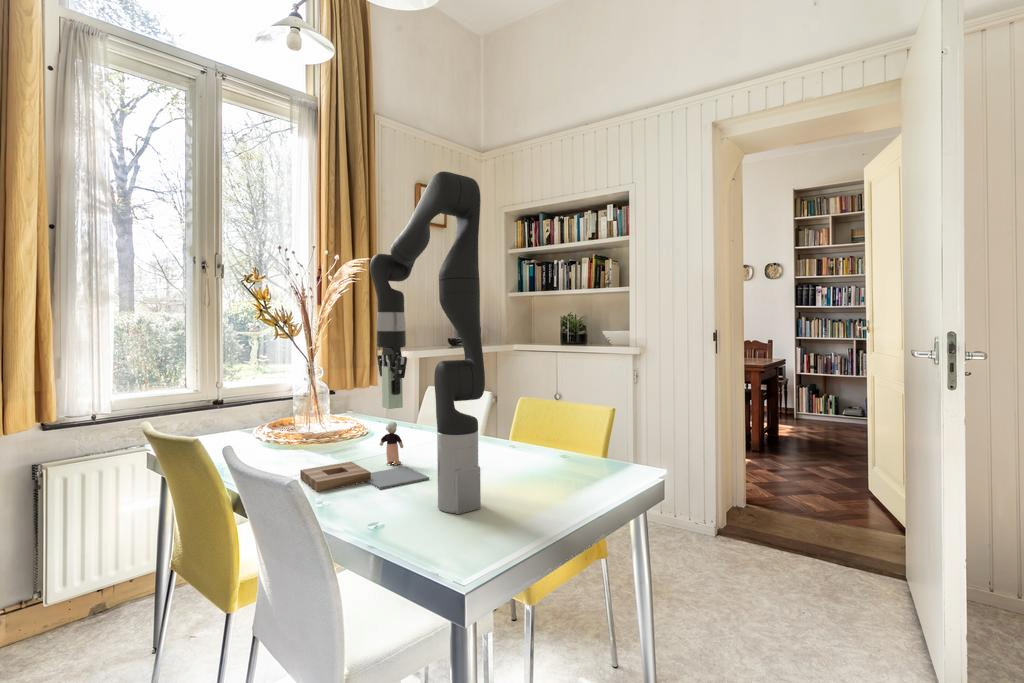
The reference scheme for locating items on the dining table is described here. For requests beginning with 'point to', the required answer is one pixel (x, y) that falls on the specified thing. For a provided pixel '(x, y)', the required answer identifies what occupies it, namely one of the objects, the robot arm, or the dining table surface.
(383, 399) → the sage peg
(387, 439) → the grandmother figurine
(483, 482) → the dining table surface
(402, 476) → the slate mat
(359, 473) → the walnut pocket block
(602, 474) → the dining table surface
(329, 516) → the dining table surface
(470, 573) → the dining table surface
